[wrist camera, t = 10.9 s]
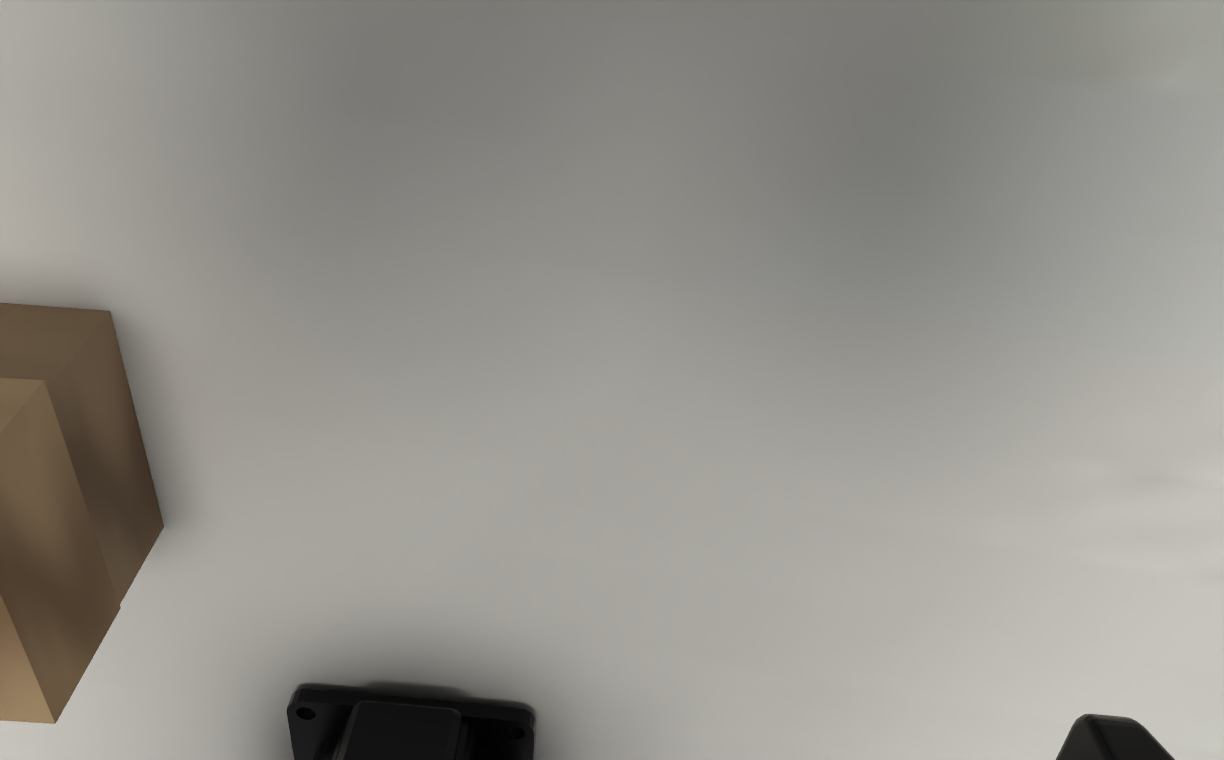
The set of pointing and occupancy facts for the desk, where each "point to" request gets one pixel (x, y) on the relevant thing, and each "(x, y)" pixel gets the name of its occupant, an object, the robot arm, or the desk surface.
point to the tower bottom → (90, 423)
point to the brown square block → (44, 562)
